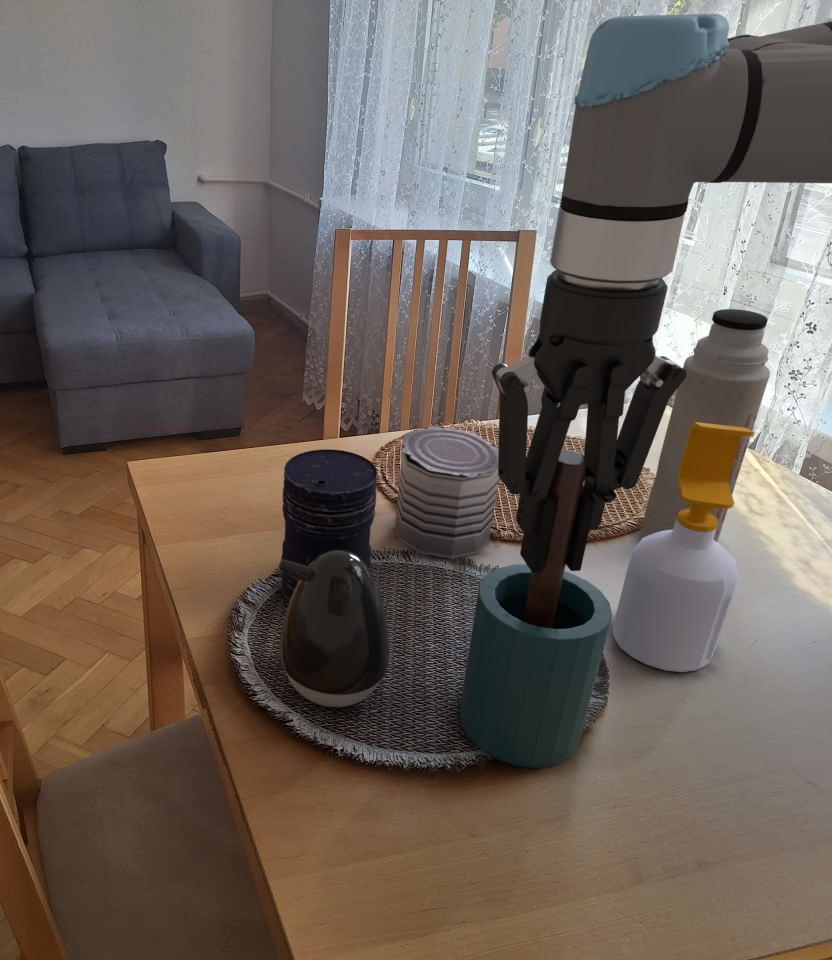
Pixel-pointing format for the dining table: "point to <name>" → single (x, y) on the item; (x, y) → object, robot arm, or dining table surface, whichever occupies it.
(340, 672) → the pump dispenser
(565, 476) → the round mallet
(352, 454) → the storage jar
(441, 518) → the can
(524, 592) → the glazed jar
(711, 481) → the soap bottle
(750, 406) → the thermos bottle
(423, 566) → the dining table surface
